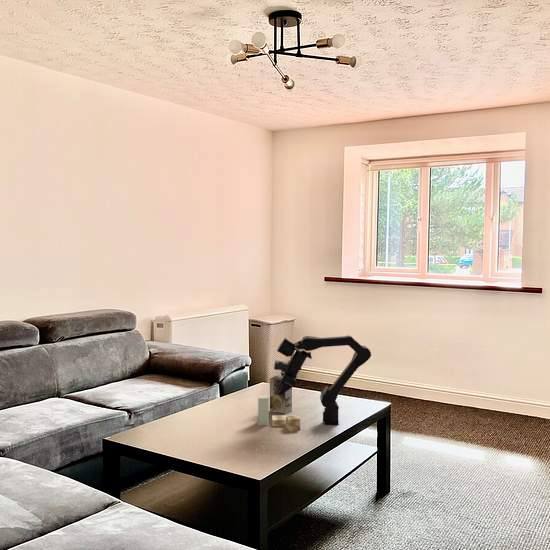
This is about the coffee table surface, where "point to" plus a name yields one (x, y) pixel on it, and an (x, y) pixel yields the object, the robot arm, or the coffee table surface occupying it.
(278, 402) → the coffee box
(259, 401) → the sage block
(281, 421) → the maple slab
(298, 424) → the oak cube
